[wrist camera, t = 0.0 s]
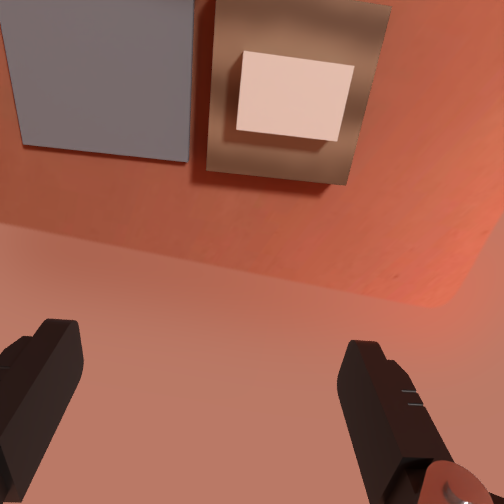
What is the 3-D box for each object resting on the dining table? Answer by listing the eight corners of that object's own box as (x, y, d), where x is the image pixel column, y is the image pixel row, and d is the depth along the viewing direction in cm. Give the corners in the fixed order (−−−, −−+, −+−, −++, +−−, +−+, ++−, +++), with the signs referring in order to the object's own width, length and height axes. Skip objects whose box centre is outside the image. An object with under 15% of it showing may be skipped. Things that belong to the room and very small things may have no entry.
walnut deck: (219, -15, 30) (217, -21, 27) (379, 10, 31) (392, 6, 29) (208, 162, 37) (206, 170, 35) (338, 176, 38) (346, 185, 36)
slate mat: (-8, -50, 28) (-14, -52, 28) (195, -18, 30) (194, -20, 29) (27, 142, 36) (23, 144, 35) (188, 160, 37) (188, 162, 36)
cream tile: (243, 50, 30) (243, 50, 28) (347, 65, 31) (354, 66, 29) (236, 125, 33) (236, 129, 31) (331, 136, 34) (337, 141, 32)
